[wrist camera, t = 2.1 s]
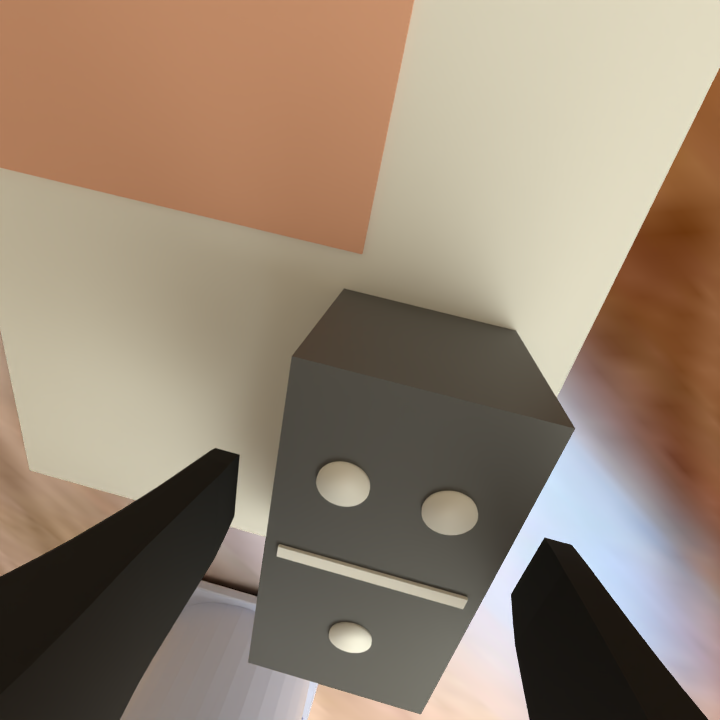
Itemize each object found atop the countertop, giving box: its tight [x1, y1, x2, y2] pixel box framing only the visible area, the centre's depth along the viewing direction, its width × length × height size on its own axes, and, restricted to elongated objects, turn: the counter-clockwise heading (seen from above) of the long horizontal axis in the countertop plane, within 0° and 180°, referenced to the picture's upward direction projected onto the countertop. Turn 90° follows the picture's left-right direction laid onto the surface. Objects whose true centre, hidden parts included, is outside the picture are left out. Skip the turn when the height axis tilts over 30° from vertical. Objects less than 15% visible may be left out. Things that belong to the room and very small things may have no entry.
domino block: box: [248, 289, 575, 714], centre depth 10 cm, size 9×5×5 cm, turn 168°
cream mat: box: [0, 0, 720, 537], centre depth 11 cm, size 21×17×1 cm
